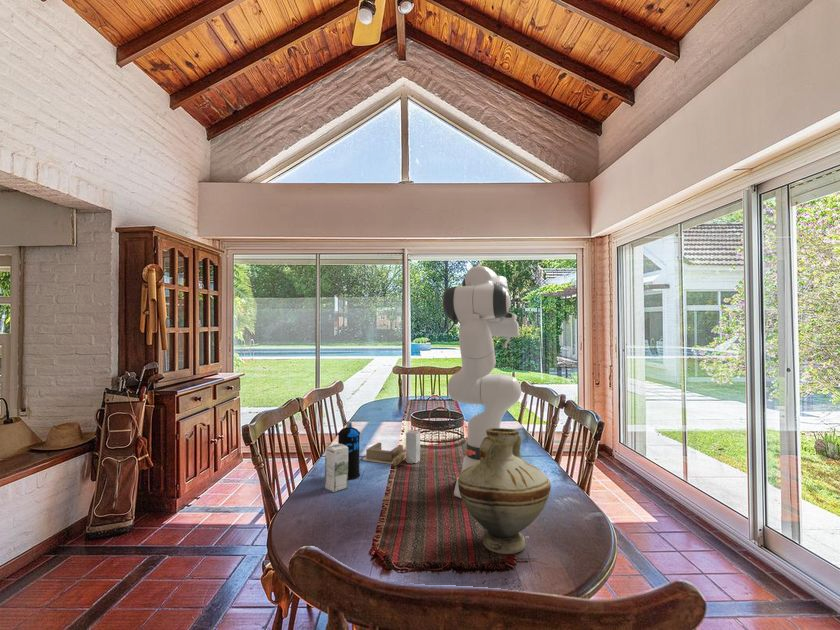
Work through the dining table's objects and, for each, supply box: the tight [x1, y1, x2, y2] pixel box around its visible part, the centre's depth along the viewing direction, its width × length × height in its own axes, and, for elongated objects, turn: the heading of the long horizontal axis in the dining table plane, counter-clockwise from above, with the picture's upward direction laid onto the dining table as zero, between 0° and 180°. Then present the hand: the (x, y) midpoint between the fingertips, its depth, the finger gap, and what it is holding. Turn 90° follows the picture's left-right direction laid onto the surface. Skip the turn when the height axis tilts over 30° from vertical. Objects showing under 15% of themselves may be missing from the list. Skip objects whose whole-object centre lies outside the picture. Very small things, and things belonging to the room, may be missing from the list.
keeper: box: [361, 442, 405, 465], centre depth 190 cm, size 14×14×4 cm
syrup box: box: [324, 443, 349, 493], centre depth 155 cm, size 6×6×14 cm
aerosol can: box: [337, 420, 361, 481], centre depth 167 cm, size 8×8×20 cm
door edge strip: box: [392, 451, 406, 467], centre depth 186 cm, size 16×1×2 cm, turn 159°
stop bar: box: [405, 429, 421, 464], centre depth 184 cm, size 4×4×12 cm
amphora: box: [457, 427, 552, 555], centre depth 118 cm, size 24×24×30 cm
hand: (493, 347), depth 191 cm, fingers open, 8 cm apart
